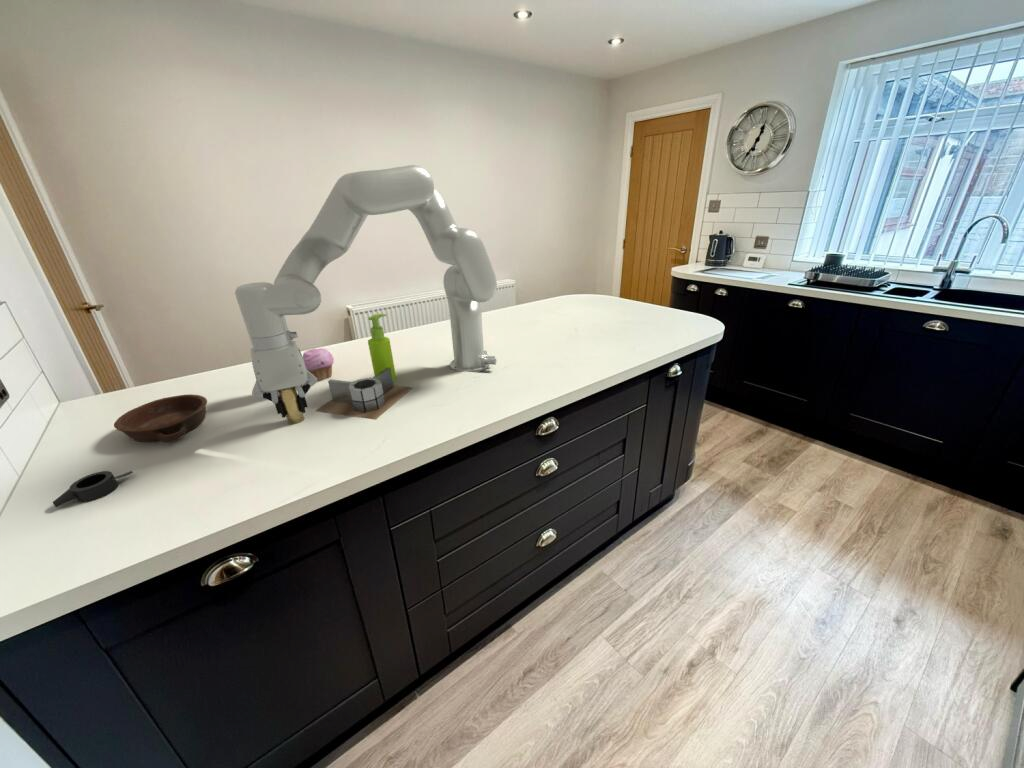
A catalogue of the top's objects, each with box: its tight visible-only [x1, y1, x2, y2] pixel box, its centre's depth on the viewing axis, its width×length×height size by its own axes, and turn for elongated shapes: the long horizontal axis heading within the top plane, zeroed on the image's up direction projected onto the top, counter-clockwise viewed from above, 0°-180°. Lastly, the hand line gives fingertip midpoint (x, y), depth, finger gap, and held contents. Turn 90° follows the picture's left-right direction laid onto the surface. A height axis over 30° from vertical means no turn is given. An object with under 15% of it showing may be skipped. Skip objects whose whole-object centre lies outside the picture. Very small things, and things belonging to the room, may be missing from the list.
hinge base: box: [314, 384, 414, 421], centre depth 104 cm, size 18×18×1 cm
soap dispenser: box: [367, 313, 397, 381], centre depth 112 cm, size 6×7×20 cm
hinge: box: [327, 368, 394, 413], centre depth 103 cm, size 15×15×6 cm
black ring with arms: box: [52, 470, 134, 508], centre depth 74 cm, size 8×10×3 cm
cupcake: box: [302, 347, 334, 383], centre depth 116 cm, size 9×9×10 cm
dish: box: [113, 393, 208, 443], centre depth 95 cm, size 18×22×5 cm
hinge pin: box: [278, 387, 305, 425], centre depth 93 cm, size 4×4×10 cm
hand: (293, 412), depth 94 cm, fingers closed on hinge pin, 3 cm apart
